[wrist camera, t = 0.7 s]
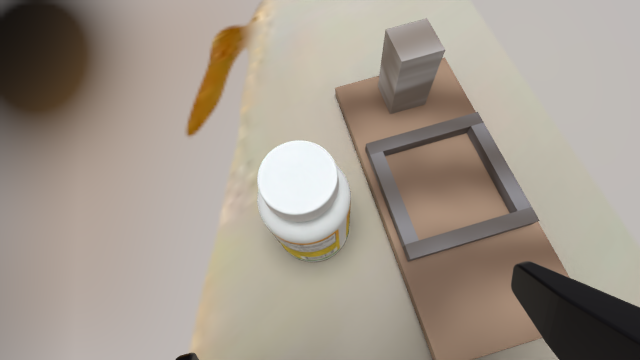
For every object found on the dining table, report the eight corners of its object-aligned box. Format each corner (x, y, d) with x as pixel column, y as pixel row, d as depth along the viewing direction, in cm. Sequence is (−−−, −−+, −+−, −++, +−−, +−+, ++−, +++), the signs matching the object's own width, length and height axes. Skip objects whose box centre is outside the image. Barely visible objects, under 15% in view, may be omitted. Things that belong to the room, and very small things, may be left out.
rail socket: (583, 321, 21) (688, 322, 15) (435, 367, 21) (476, 390, 14) (441, 65, 30) (468, -5, 23) (335, 95, 29) (332, 32, 23)
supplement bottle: (322, 277, 23) (307, 253, 14) (264, 235, 25) (219, 190, 16) (363, 217, 25) (373, 161, 16) (306, 180, 26) (286, 111, 17)
